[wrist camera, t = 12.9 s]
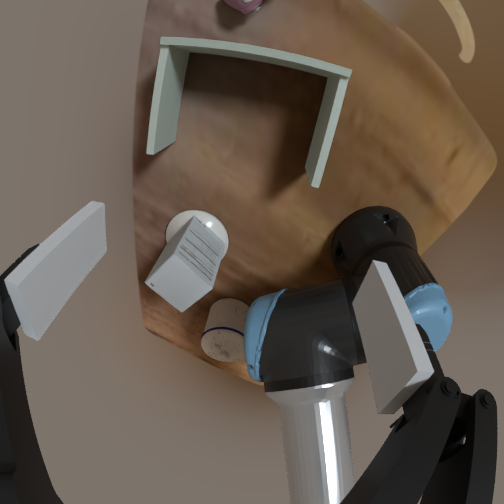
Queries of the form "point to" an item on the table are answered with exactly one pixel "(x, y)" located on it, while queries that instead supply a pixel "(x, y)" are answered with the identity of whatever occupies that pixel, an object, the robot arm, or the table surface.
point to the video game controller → (244, 5)
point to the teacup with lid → (225, 330)
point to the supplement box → (187, 265)
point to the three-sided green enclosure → (179, 49)
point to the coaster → (205, 218)
